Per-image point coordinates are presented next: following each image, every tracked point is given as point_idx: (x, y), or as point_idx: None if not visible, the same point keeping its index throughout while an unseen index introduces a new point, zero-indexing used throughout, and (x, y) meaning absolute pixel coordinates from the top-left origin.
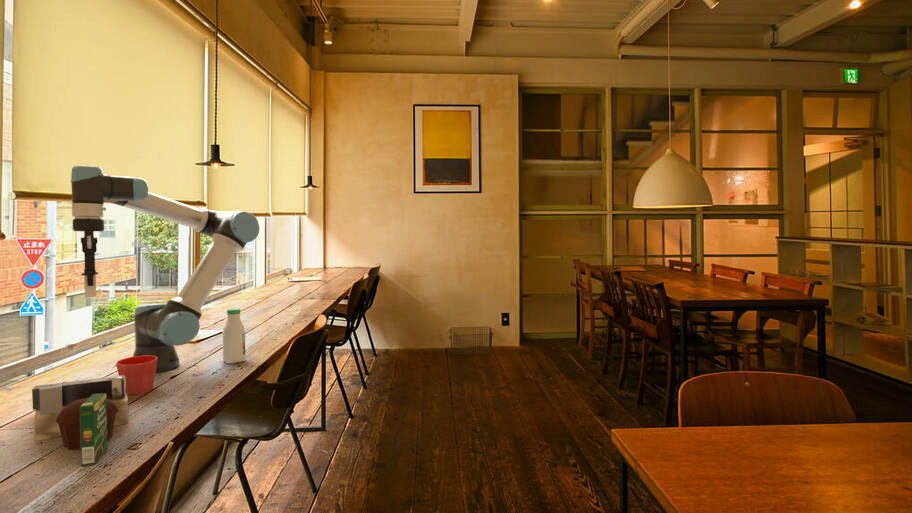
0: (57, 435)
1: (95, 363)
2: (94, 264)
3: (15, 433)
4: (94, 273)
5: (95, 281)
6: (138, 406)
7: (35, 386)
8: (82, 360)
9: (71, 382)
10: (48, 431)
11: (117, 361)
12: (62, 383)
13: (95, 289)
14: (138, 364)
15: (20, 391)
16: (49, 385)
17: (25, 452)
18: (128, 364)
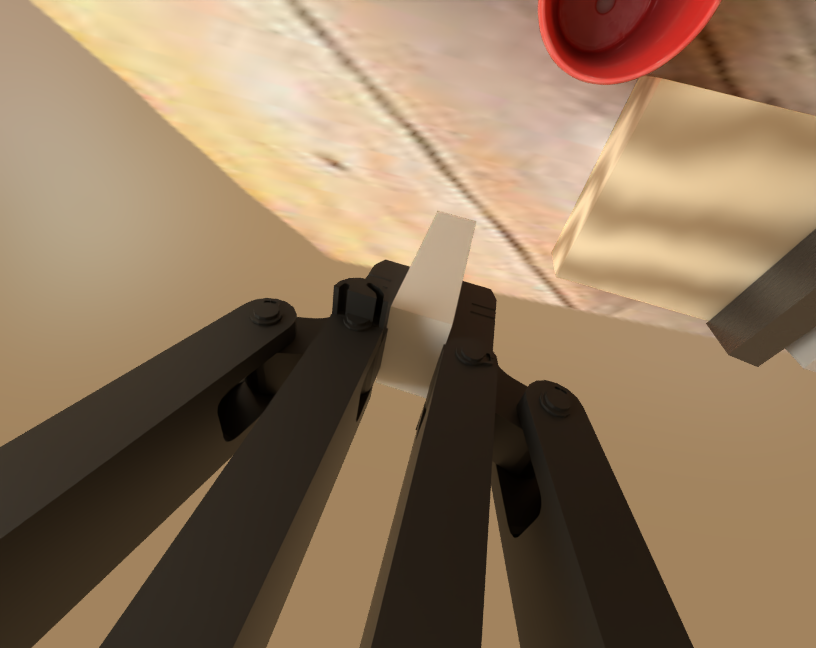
0: None
1: (144, 27)
2: (631, 531)
3: (651, 314)
4: (496, 365)
5: (459, 284)
6: (790, 61)
7: (736, 356)
8: (93, 53)
9: (813, 300)
10: None
11: (571, 71)
12: (792, 316)
13: (467, 248)
14: (718, 4)
15: (350, 244)
16: (769, 338)
17: None
18: (549, 12)
